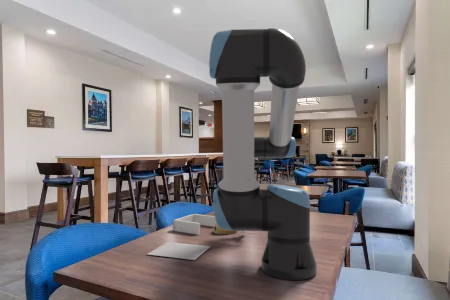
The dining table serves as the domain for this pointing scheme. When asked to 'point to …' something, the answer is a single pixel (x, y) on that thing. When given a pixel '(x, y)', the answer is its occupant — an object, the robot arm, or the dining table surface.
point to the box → (193, 223)
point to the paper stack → (180, 250)
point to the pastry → (220, 231)
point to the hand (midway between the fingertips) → (244, 231)
